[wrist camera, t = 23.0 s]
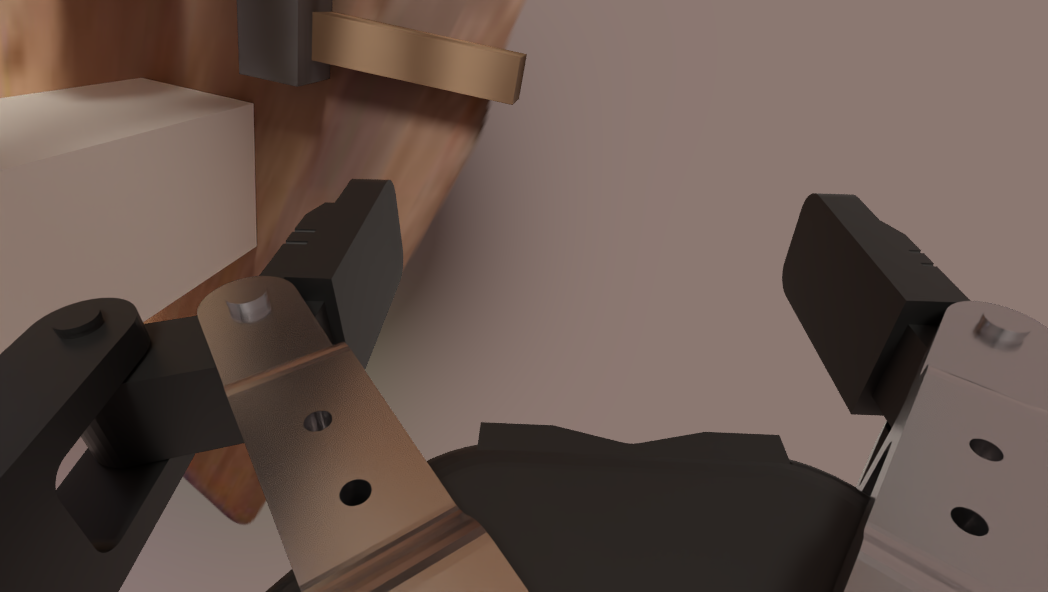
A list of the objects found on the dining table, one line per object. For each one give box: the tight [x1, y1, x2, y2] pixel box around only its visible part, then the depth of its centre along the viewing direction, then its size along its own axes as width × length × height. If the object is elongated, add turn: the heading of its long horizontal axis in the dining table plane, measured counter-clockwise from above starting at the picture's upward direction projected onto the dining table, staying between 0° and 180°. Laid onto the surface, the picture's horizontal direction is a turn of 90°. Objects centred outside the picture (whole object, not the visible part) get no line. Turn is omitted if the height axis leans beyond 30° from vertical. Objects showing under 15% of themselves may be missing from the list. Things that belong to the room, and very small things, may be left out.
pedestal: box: [0, 78, 257, 354], centre depth 33 cm, size 14×10×32 cm
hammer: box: [237, 0, 526, 105], centre depth 39 cm, size 18×6×5 cm, turn 79°
